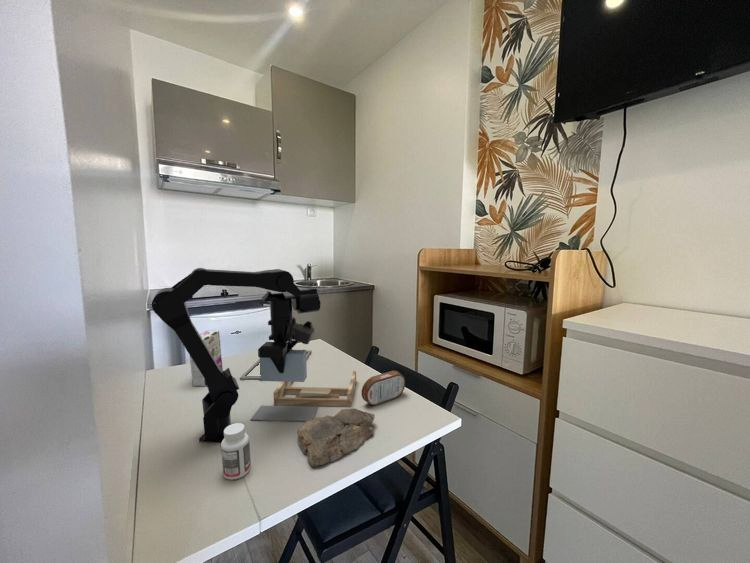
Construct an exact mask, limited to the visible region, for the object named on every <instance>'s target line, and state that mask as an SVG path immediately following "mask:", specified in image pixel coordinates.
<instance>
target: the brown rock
mask: <svg viewBox="0 0 750 563" xmlns="http://www.w3.org/2000/svg"><path fill="white" fill-rule="evenodd" d="M375 417H376V415H375V413H371V412H367V411H362V410H360V409H357V408H344V409H340V410H339V412H337V413H336V414H334V415H332V416H331V415H325V416H322V417H321V416H320V417H319V416H318V417H314V418H313V419H310V420H309V421H306V422H303V424H301V425H300V426H299V427H298V429H297V431H296V432H297V435H298V437H297V444H298V446H299V447H300V450H301V452H302V451H303V452H302V453H303V454H304V455H307V458H306V460H307V462H308V463H309V464H310V465H311V467H312V468H315V466H317V467H320V466H321V465H325V463H326V464H329V463H333V462H336V461H337V459H338V460H340V459H341V458H343V455H346V454H349V453H352V452H354V451H357V450H359V449H360V448H361V447H362V446H363V443H364V442H365V441H368V439H369V438H370V437H371V436H372V435H373V433H374V432H375V430H374V427H372V426H373V423H374V420H375ZM319 465H320V466H319Z"/></svg>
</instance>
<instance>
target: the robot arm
mask: <svg viewBox="0 0 750 563" xmlns="http://www.w3.org/2000/svg"><path fill="white" fill-rule="evenodd" d="M294 280H295V279H294V277H293V275H292V274H291V273H290V271H287V270H283V269H281V268H276V269H265V270H261V271H246V270H245V271H244V270H243V271H241V270H225V269H210V268H209V269H207V268H204V267H197V268H194V269H193V270H192V272H191V273H189V274H188V275H187V276H184V278H183V279H181V280H179V281H178V282H177V283H175V284H174V285H172V286H171V287H165V288H162V289H160V290H158V292H157V293H155V296H154V297H153V299H152V301H151V309H152V311H153V312H154V313H155V314H156V315H157V317H159V318H160V320H162V322H163V323H164V324H166V325H167V327H169V328H170V329H172V330H173V331H174V332H175V334H176V335H177V338H178V339H179V340H180V342H181V343H182V345H183V346H184V348H185V349H186V351H187V353H188V355H189V357H190V356H191V358H192V359H193V361H194V363H195V364H196V366H197V367H198V369H199V371H200V372H201V374H202V375H203V377H204V379H205V381H206V384H207V386H206V387H207V390H208V393H206V395H205V396H204V397H203V398H202V400H201V402H202V411H203V417H202V419H203V421H202V422H203V431H204V432H203V434H202V435H201V436H200V437H199V438H198V442H210V443H211V442H212V443H213V442H214V443H222V441H223V439H224V429H225V428H226V427H228V426H229V425H231V424H232V422H231V411H232V408H233V406H234V405H235V404H236V403H237V401H238V399H239V393H238V392H239V391H238V390H240V387H239V384H238V381H237V379H236V377H234V376H233V375H232V373H231V370H230V368H229V367H227V368H226V369H223V368H222V369H223V370H222V369H221V368H220V367H219V366H218V365H217V363H216V361H215V360H214V358H213V356H212V355H211V353H210V351H209V350H208V348H207V346H206V345H205V343H204V341H203V340H202V338H201V336H200V333H199V332H198V329H197V328H196V327H195V324H194V323H193V322H192V318H191V316H190V312H189V310H188V306H187V303H186V302H187V301H189V300H190V299H191V298H193V296H194V295H196V294H197V292H199V290H201V289H202V288H203V287H205V286H216V287H217V286H219V287H220V286H221V287H222V286H223V287H246V288H247V287H249V288H250V287H251V288H260V289H264V290H267V291H266V293H265V294H264V295H263V296H261V300H262V301H264V302H265V303H267V302H269V310H270V312H269V313H270V319H269V320H268V321H267V325H268V326H270V332H271V333H270V335H269V336H268V341H266V342H264V343H263V344H262V345H261V346H260V347H259V348H258V349H257V357H258V358H259V359H260V358H270V359H271V360H272V362H273V363H274V365H275V367H276V368H277V370H278V372H279V373H284V367H285V358H286V355H287V354H288V353H289V352H290V350H292V349H293V348H294V347H295V346H296V345H297V343H299V342H300V343H302V344H304V345H309V343H310V342H311V340H312V339H313V338H312V337H313V335H314V334H315V328H314V327H313V323H312V322H311V321H309V320H307V321H305V323H298V322H297V319H296V318H295V317H294V316H293V311H296V312H297V314H306V313H307V314H308V313H314V312H315V313H316V312H319V311H320V310H321V300H320V296H319V294H318V289H317V288H315V287H310V288H307V289H306V288H304V289H300V288H299V287H298V286H297V285H296V284H295V281H294ZM271 291H273V292H276V293H272V292H271ZM284 293H288V294H289V295H285V294H284Z"/></svg>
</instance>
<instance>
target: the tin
mask: <svg viewBox="0 0 750 563" xmlns="http://www.w3.org/2000/svg"><path fill="white" fill-rule="evenodd" d="M405 387H406V378H405V377H404V376H403V374H401V372H399V371H398V370H391V371H388V372H384V373H383V372H382V373H381V374H376V375H374V376H371V377H369V378H368V379H366V381H365V382H364V383H363V385H362V388H361V391H360V392H361V398H362V400H363V401H365V403H367V404H368V405H369V406H370V405H371V406H377V405H380V404H383V403H386V402H390V401H392V400H394V399H397V398H399V397H400V396H401V395H402V393H403V392H404V391H405Z"/></svg>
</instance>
